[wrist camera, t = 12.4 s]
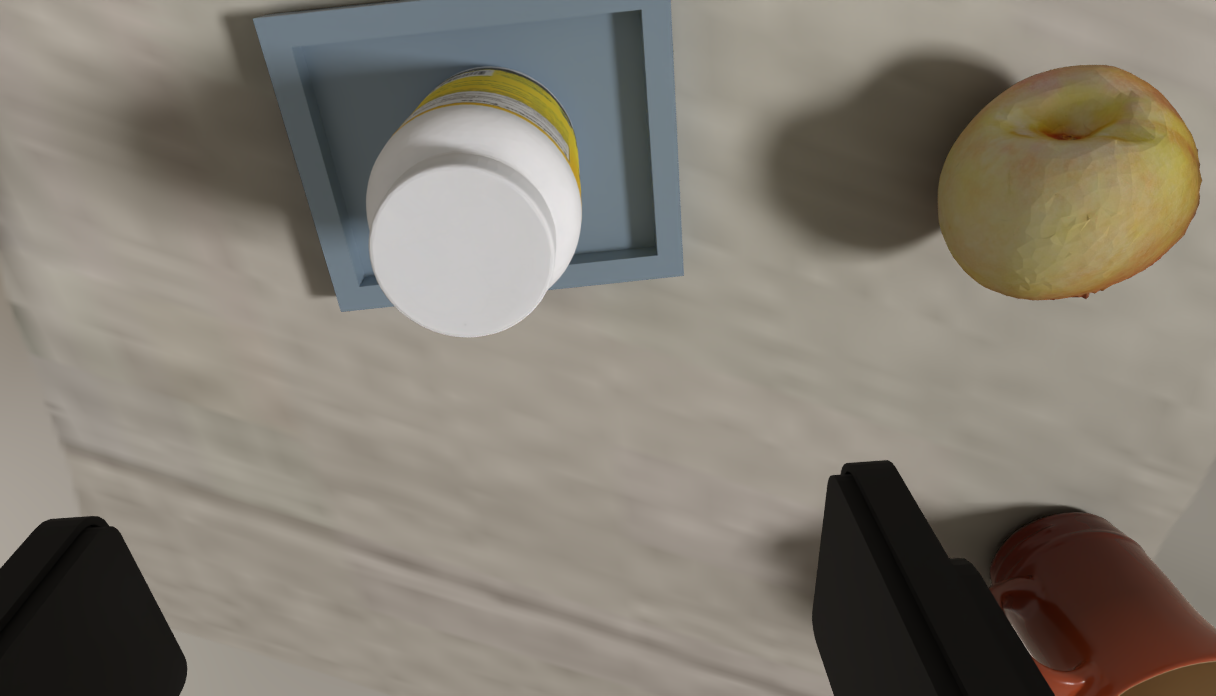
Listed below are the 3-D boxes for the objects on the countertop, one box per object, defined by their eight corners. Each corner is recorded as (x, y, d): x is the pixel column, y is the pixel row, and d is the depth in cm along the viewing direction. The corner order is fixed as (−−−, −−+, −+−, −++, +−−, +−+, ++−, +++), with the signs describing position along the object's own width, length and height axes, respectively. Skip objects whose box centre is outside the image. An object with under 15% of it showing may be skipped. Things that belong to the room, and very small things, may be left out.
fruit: (1129, 60, 28) (1312, 101, 21) (1044, 261, 32) (1175, 352, 25) (940, 37, 28) (1066, 72, 21) (876, 246, 32) (964, 335, 25)
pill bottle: (519, 255, 30) (497, 403, 21) (384, 165, 28) (290, 284, 19) (611, 131, 28) (633, 233, 19) (472, 25, 26) (415, 77, 17)
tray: (268, 14, 26) (252, 18, 25) (664, -29, 26) (669, -27, 25) (350, 296, 32) (341, 311, 30) (679, 261, 31) (683, 275, 30)
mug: (1163, 508, 40) (1336, 675, 31) (1071, 619, 44) (1201, 795, 35) (966, 464, 38) (1090, 630, 29) (888, 585, 42) (976, 764, 33)
